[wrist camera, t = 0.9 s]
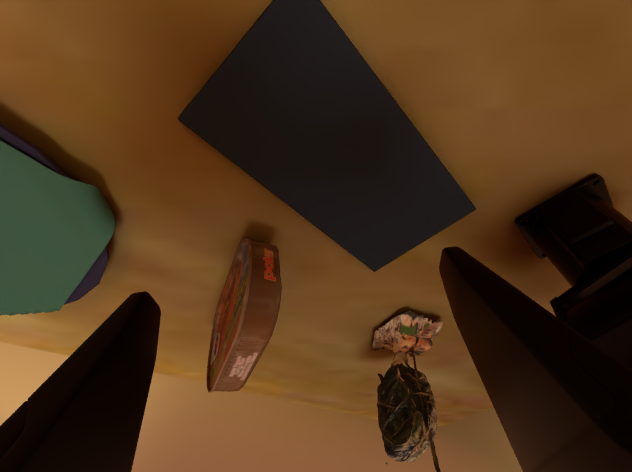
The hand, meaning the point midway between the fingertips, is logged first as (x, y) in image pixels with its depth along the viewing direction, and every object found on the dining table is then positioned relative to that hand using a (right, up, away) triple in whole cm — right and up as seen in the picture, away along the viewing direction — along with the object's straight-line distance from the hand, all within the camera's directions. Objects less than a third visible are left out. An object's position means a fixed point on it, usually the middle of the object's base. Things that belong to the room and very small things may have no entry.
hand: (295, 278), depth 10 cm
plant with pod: (+10, -10, +29) cm, 32 cm away
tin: (-6, -3, +20) cm, 21 cm away
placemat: (+3, +6, +13) cm, 15 cm away
